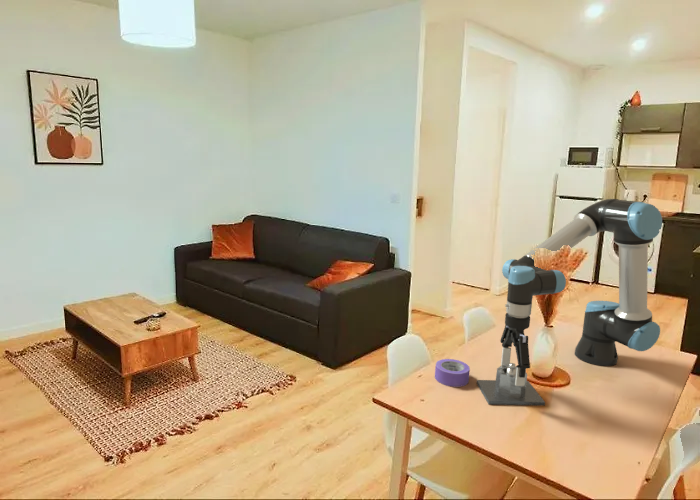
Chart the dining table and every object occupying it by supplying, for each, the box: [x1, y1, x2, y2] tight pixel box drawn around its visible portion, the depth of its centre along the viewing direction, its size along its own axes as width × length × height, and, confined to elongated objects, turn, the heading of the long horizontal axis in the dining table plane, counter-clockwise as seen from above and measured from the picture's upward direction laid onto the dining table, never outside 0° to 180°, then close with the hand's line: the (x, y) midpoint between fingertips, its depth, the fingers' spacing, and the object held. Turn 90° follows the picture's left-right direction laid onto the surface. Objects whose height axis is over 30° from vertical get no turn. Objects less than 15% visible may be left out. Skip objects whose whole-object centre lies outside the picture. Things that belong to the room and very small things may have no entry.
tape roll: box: [434, 358, 471, 388], centre depth 165 cm, size 12×12×5 cm
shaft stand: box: [476, 362, 546, 407], centre depth 155 cm, size 18×14×11 cm
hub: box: [495, 365, 528, 398], centre depth 155 cm, size 9×9×7 cm
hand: (512, 375), depth 155 cm, fingers open, 13 cm apart
